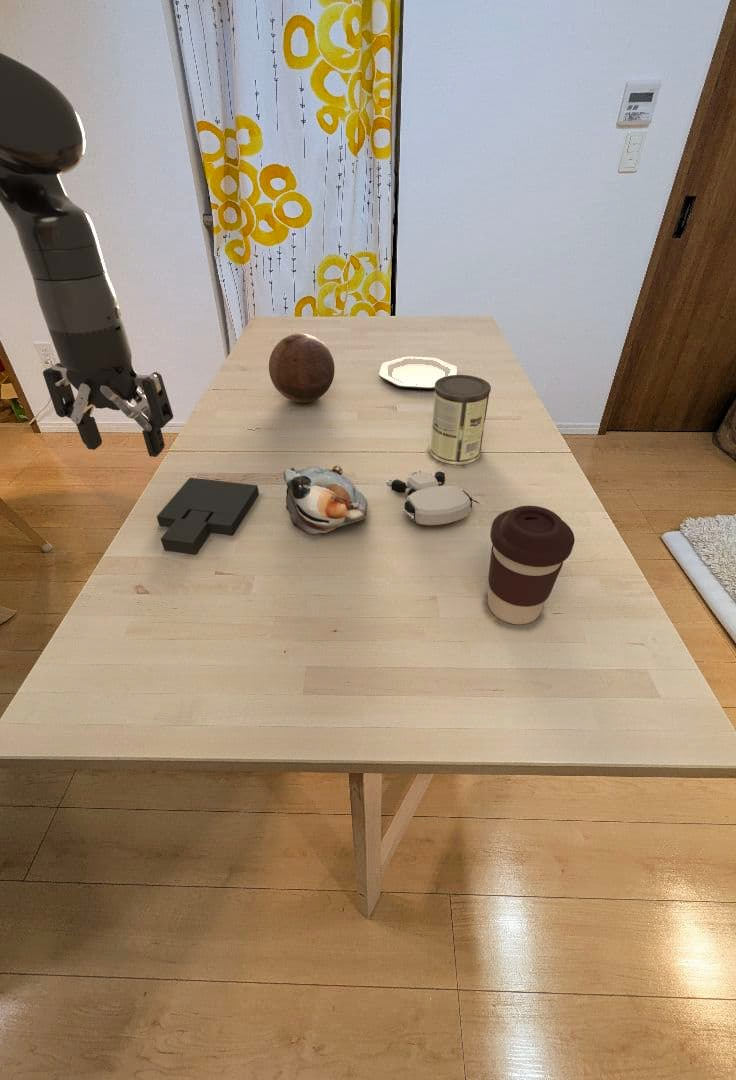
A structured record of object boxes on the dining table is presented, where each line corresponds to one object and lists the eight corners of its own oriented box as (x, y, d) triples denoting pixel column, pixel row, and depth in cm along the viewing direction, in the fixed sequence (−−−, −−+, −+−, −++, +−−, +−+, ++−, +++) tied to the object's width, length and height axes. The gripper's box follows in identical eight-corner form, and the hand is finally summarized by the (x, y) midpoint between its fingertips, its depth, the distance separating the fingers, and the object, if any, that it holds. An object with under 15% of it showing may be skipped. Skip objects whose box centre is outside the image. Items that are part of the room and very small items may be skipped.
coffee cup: (539, 644, 67) (567, 558, 57) (467, 616, 71) (482, 530, 61) (557, 596, 74) (586, 511, 64) (490, 573, 77) (508, 489, 68)
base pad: (159, 526, 86) (156, 516, 85) (192, 486, 95) (189, 477, 94) (232, 535, 84) (230, 526, 83) (259, 494, 93) (257, 485, 92)
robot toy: (382, 494, 94) (413, 539, 83) (381, 472, 92) (414, 516, 80) (443, 483, 97) (481, 524, 86) (444, 461, 95) (484, 501, 83)
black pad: (164, 550, 81) (160, 538, 80) (188, 518, 88) (185, 507, 86) (196, 554, 81) (192, 543, 79) (218, 522, 87) (215, 511, 85)
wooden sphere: (348, 398, 124) (347, 334, 114) (301, 419, 116) (295, 352, 106) (307, 381, 132) (302, 320, 122) (260, 399, 124) (250, 335, 114)
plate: (456, 364, 141) (457, 358, 140) (455, 394, 126) (456, 388, 125) (385, 360, 143) (385, 355, 142) (375, 389, 128) (375, 384, 127)
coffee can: (443, 434, 110) (450, 370, 101) (488, 448, 106) (499, 382, 97) (419, 455, 104) (424, 388, 95) (466, 470, 99) (476, 401, 90)
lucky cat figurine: (381, 505, 90) (388, 466, 77) (345, 561, 86) (347, 529, 73) (308, 465, 92) (304, 420, 79) (270, 518, 88) (258, 479, 75)
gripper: (1, 324, 55) (57, 459, 65) (125, 334, 53) (163, 471, 63) (48, 305, 60) (93, 431, 70) (161, 313, 58) (190, 442, 69)
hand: (126, 450), depth 67 cm, fingers open, 8 cm apart
